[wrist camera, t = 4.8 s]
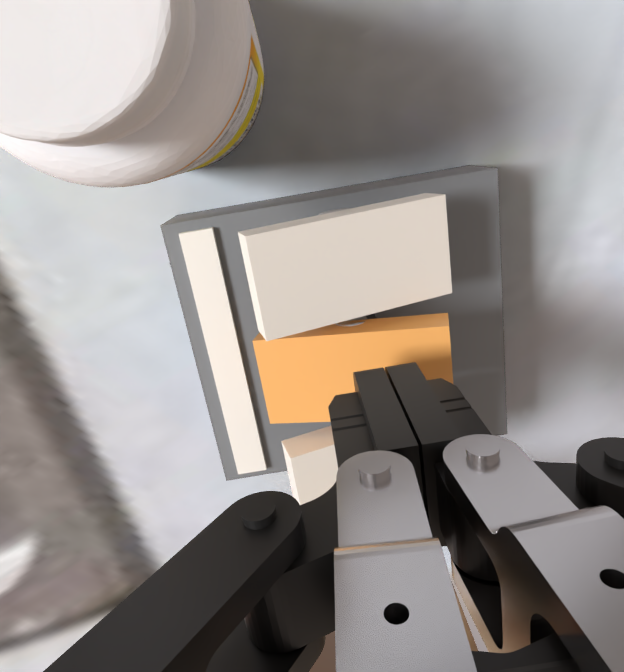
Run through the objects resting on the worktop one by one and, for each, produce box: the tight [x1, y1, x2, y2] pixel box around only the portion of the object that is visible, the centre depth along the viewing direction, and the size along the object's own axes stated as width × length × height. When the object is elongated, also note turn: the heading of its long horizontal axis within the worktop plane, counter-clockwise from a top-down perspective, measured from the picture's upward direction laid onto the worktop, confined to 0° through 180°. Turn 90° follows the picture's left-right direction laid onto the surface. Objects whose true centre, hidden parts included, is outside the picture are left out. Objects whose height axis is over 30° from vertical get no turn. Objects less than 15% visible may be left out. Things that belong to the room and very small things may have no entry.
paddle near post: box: [281, 426, 338, 505], centre depth 16 cm, size 3×5×1 cm, turn 99°
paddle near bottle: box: [238, 193, 452, 341], centre depth 14 cm, size 3×5×1 cm, turn 99°
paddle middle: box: [253, 313, 453, 424], centre depth 15 cm, size 3×5×2 cm, turn 99°
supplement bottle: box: [0, 0, 264, 187], centre depth 11 cm, size 6×6×10 cm
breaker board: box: [161, 165, 507, 481], centre depth 17 cm, size 9×10×4 cm
